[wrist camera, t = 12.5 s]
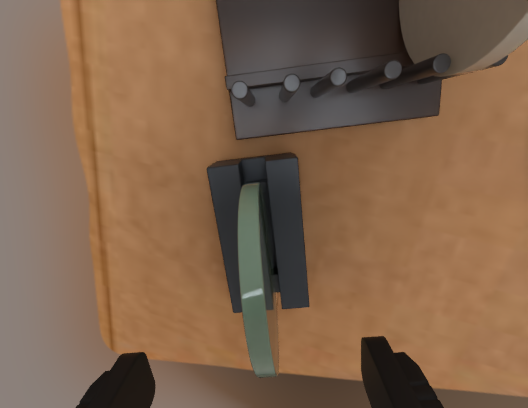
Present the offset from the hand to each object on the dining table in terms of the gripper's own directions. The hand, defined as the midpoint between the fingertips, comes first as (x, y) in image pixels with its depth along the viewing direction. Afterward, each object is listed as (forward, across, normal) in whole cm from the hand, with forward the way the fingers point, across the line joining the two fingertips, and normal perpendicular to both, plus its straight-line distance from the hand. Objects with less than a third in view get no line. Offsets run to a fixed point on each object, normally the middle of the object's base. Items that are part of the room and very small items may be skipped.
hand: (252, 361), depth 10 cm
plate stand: (+13, 0, 0) cm, 13 cm away
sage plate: (+12, 0, 0) cm, 12 cm away
